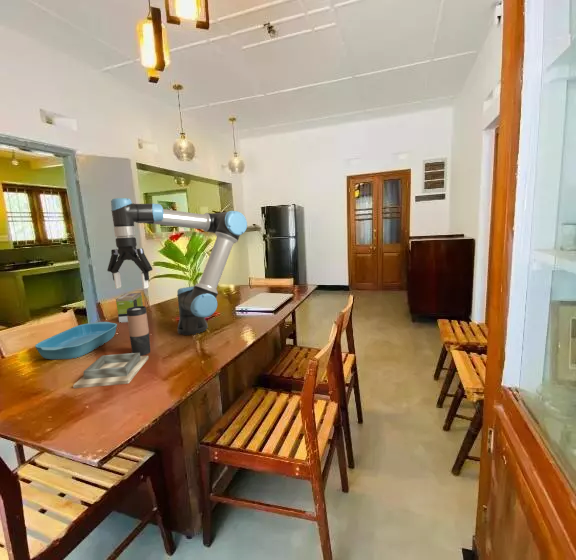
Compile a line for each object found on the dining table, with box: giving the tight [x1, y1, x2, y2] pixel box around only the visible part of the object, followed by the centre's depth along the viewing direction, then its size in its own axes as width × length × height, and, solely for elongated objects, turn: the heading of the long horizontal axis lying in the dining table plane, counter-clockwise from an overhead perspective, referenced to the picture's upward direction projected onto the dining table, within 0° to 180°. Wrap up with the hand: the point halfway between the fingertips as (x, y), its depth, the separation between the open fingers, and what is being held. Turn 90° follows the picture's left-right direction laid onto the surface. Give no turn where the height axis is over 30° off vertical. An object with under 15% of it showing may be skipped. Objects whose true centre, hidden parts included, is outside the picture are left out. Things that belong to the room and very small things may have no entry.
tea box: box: [115, 291, 144, 323], centre depth 195 cm, size 15×10×15 cm, turn 6°
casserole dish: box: [34, 321, 118, 360], centre depth 150 cm, size 37×22×7 cm, turn 177°
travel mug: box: [127, 305, 151, 356], centre depth 139 cm, size 8×8×20 cm
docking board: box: [73, 352, 149, 389], centre depth 122 cm, size 18×22×4 cm
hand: (132, 288), depth 136 cm, fingers open, 13 cm apart
